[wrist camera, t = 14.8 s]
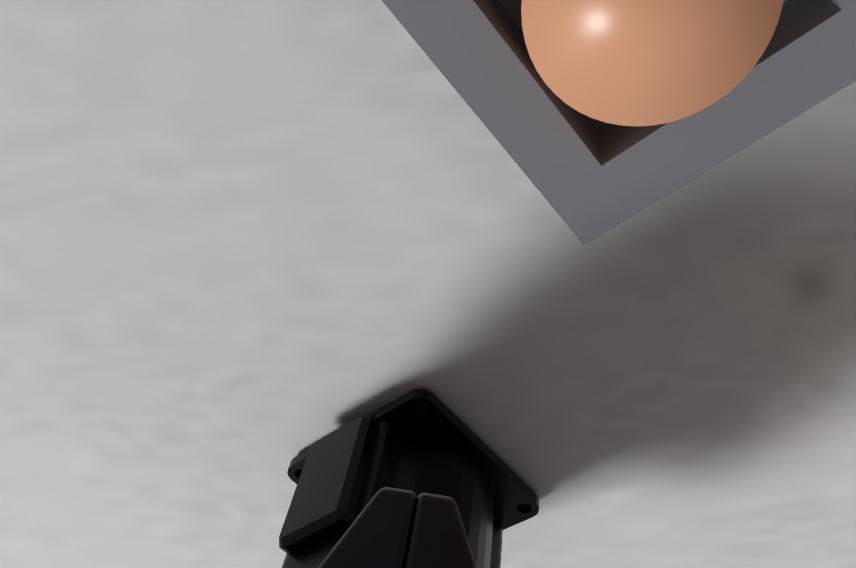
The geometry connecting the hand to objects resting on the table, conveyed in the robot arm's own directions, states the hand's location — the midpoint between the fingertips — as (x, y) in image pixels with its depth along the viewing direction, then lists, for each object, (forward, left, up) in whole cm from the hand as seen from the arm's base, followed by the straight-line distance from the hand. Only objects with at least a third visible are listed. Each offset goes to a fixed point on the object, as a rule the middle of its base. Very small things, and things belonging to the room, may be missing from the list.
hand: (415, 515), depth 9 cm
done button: (+1, -5, -11) cm, 12 cm away
